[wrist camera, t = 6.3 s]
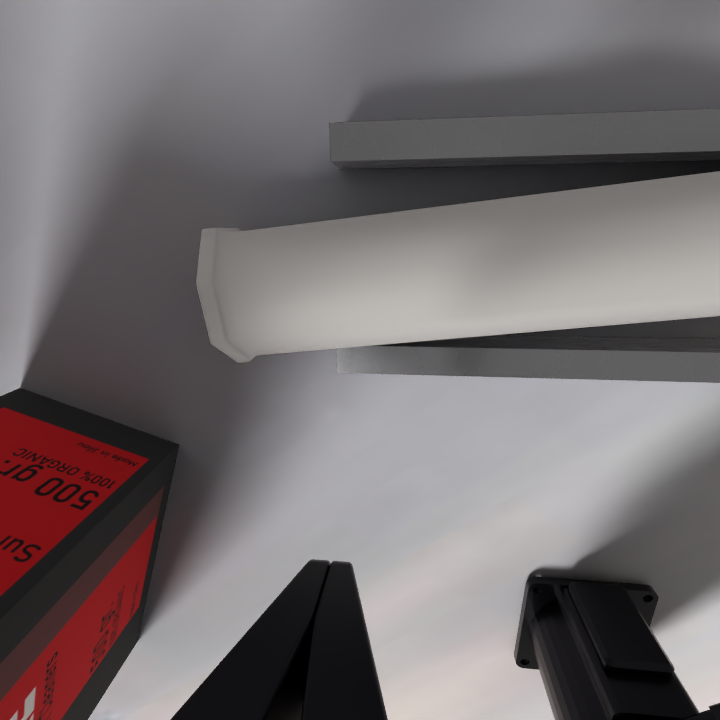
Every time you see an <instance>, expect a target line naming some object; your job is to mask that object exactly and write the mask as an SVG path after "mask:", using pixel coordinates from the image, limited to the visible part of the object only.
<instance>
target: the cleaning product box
mask: <svg viewBox="0 0 720 720" xmlns="http://www.w3.org/2000/svg"><path fill="white" fill-rule="evenodd" d="M178 447H179V445H178V444H176V443H173V442H170V441H167V440H164V439H162V438H159V437H156V436H153V435H150V434H148V433H145V432H142V431H139V430H136V429H134V428H131V427H128V426H125V425H122V424H120V423H117V422H114V421H111V420H108V419H106V418H103V417H100V416H97V415H94V414H92V413H89V412H86V411H83V410H80V409H78V408H75V407H72V406H69V405H66V404H64V403H61V402H58V401H55V400H52V399H50V398H47V397H44V396H41V395H38V394H36V393H33V392H30V391H27V390H24V389H22V388H19V389H17V390H14V391H12V392H10V393H7V394H5V395H3V396H0V720H88V718H89V717H90V715H91V714H92V712H93V710H94V709H95V707H96V706H97V704H98V703H99V701H100V699H101V698H102V696H103V695H104V693H105V692H106V690H107V688H108V687H109V685H110V684H111V682H112V681H113V679H114V677H115V676H116V674H117V673H118V671H119V670H120V668H121V666H122V665H123V663H124V662H125V660H126V659H127V657H128V656H129V654H130V652H131V651H132V649H133V648H134V646H135V645H136V643H137V640H138V635H139V631H140V626H141V621H142V616H143V612H144V607H145V602H146V598H147V593H148V588H149V584H150V579H151V574H152V569H153V565H154V560H155V555H156V551H157V546H158V541H159V537H160V532H161V527H162V522H163V518H164V513H165V508H166V504H167V499H168V494H169V490H170V485H171V480H172V475H173V471H174V466H175V461H176V457H177V452H178Z"/></svg>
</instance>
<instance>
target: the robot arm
mask: <svg viewBox="0 0 720 720" xmlns="http://www.w3.org/2000/svg"><path fill="white" fill-rule="evenodd" d="M657 601H658V596H657V594H656V592H655V591H654V590H653V588H652V587H651V586H649V585H642V584H628V583H615V582H601V581H588V580H574V579H560V578H547V577H532V578H529V579H528V580H527V582H526V586H525V592H524V598H523V604H522V610H521V616H520V622H519V628H518V633H517V639H516V645H515V651H514V657H515V661H516V664H517V665H518V666H519V667H521V668H529V669H539V670H540V673H541V677H542V680H543V683H544V686H545V689H546V693H547V696H548V699H549V702H550V705H551V709H552V712H553V715H554V718H555V720H720V703H718V704H715V705H712V706H709V708H710V710H707V711H704V712H701V713H699V711H698V709H697V708H696V706H695V705H694V703H693V701H692V700H691V698H690V696H689V695H688V693H687V691H686V690H685V688H684V687H683V685H682V683H681V682H680V680H679V678H678V677H677V675H676V674H675V672H674V667H673V665H672V663H671V661H670V660H669V658H668V657H667V655H666V653H665V652H664V650H663V648H662V647H661V645H660V644H659V642H658V640H657V639H656V637H655V636H654V634H653V632H652V631H651V629H650V628H649V627H650V624H651V620H652V617H653V614H654V611H655V608H656V605H657ZM171 720H388V719H387V715H386V710H385V706H384V702H383V697H382V693H381V689H380V684H379V680H378V675H377V671H376V667H375V662H374V658H373V654H372V649H371V645H370V640H369V636H368V632H367V627H366V623H365V619H364V614H363V610H362V606H361V601H360V597H359V592H358V588H357V584H356V579H355V575H354V571H353V566H352V564H351V563H350V562H341V561H333V562H332V563H330V562H329V561H327V560H314V559H313V560H310V561H309V562H308V563H307V564H306V565H305V566H304V567H303V568H302V569H301V571H300V572H299V573H298V574H297V575H296V576H295V577H294V579H293V580H292V581H291V582H290V583H289V584H288V585H287V587H286V588H285V589H284V590H283V591H282V592H281V594H280V595H279V596H278V597H277V598H276V599H275V600H274V602H273V603H272V604H271V605H270V606H269V607H268V608H267V610H266V611H265V612H264V613H263V614H262V615H261V616H260V618H259V619H258V620H257V621H256V622H255V623H254V624H253V626H252V627H251V628H250V629H249V630H248V631H247V633H246V634H245V635H244V636H243V637H242V638H241V639H240V641H239V642H238V643H237V644H236V645H235V646H234V647H233V649H232V650H231V651H230V652H229V653H228V654H227V655H226V657H225V658H224V659H223V660H222V661H221V662H220V663H219V665H218V666H217V667H216V668H215V669H214V670H213V672H212V673H211V674H210V675H209V676H208V677H207V678H206V680H205V681H204V682H203V683H202V684H201V685H200V686H199V688H198V689H197V690H196V691H195V692H194V693H193V694H192V696H191V697H190V698H189V699H188V700H187V701H186V703H185V704H184V705H183V706H182V707H181V708H180V709H179V711H178V712H177V713H176V714H175V715H174V716H173V717H172V719H171Z"/></svg>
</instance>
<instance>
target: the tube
mask: <svg viewBox="0 0 720 720" xmlns="http://www.w3.org/2000/svg"><path fill="white" fill-rule="evenodd" d="M196 286H197V291H198V295H199V299H200V303H201V307H202V311H203V315H204V319H205V324H206V328H207V332H208V336H209V340H210V343H211V344H212V345H213V346H215V347H216V348H218V349H219V350H220V351H222V352H223V353H225V354H226V355H228V356H229V357H230V358H232V359H233V360H235V361H236V362H238V363H243V362H250V361H251V360H252V359H253V358H254V357H255V356H258V355H266V354H278V353H290V352H301V351H313V350H325V349H337V348H348V347H360V346H372V345H384V344H395V343H407V342H419V341H431V340H442V339H454V338H466V337H478V336H490V335H501V334H513V333H525V332H537V331H548V330H560V329H572V328H584V327H595V326H607V325H619V324H631V323H642V322H654V321H666V320H678V319H689V318H701V317H713V316H720V171H717V172H709V173H701V174H693V175H685V176H677V177H669V178H661V179H653V180H645V181H638V182H630V183H622V184H614V185H606V186H598V187H590V188H582V189H574V190H566V191H558V192H550V193H542V194H534V195H526V196H518V197H510V198H502V199H494V200H486V201H478V202H470V203H462V204H454V205H446V206H438V207H430V208H423V209H415V210H407V211H399V212H391V213H383V214H375V215H367V216H359V217H351V218H343V219H335V220H327V221H319V222H311V223H303V224H295V225H287V226H279V227H271V228H263V229H255V230H247V231H241V230H240V229H239V228H206V229H202V231H201V240H200V249H199V259H198V268H197V277H196Z"/></svg>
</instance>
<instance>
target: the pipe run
mask: <svg viewBox="0 0 720 720" xmlns="http://www.w3.org/2000/svg"><path fill="white" fill-rule="evenodd" d="M329 127H330V159H331V162H332V163H333V164H334V165H335V166H336V167H337V168H338V169H369V168H410V167H450V166H490V165H530V164H570V163H611V162H651V161H691V160H720V108H717V109H690V110H663V111H635V112H608V113H581V114H553V115H526V116H499V117H472V118H444V119H417V120H390V121H362V122H335V123H329ZM336 355H337V373H369V374H407V375H445V376H483V377H522V378H560V379H598V380H636V381H674V382H712V383H720V339H693V338H631V337H569V336H507V335H490V336H478V337H466V338H454V339H442V340H431V341H419V342H407V343H395V344H384V345H372V346H360V347H348V348H337V349H336Z"/></svg>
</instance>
